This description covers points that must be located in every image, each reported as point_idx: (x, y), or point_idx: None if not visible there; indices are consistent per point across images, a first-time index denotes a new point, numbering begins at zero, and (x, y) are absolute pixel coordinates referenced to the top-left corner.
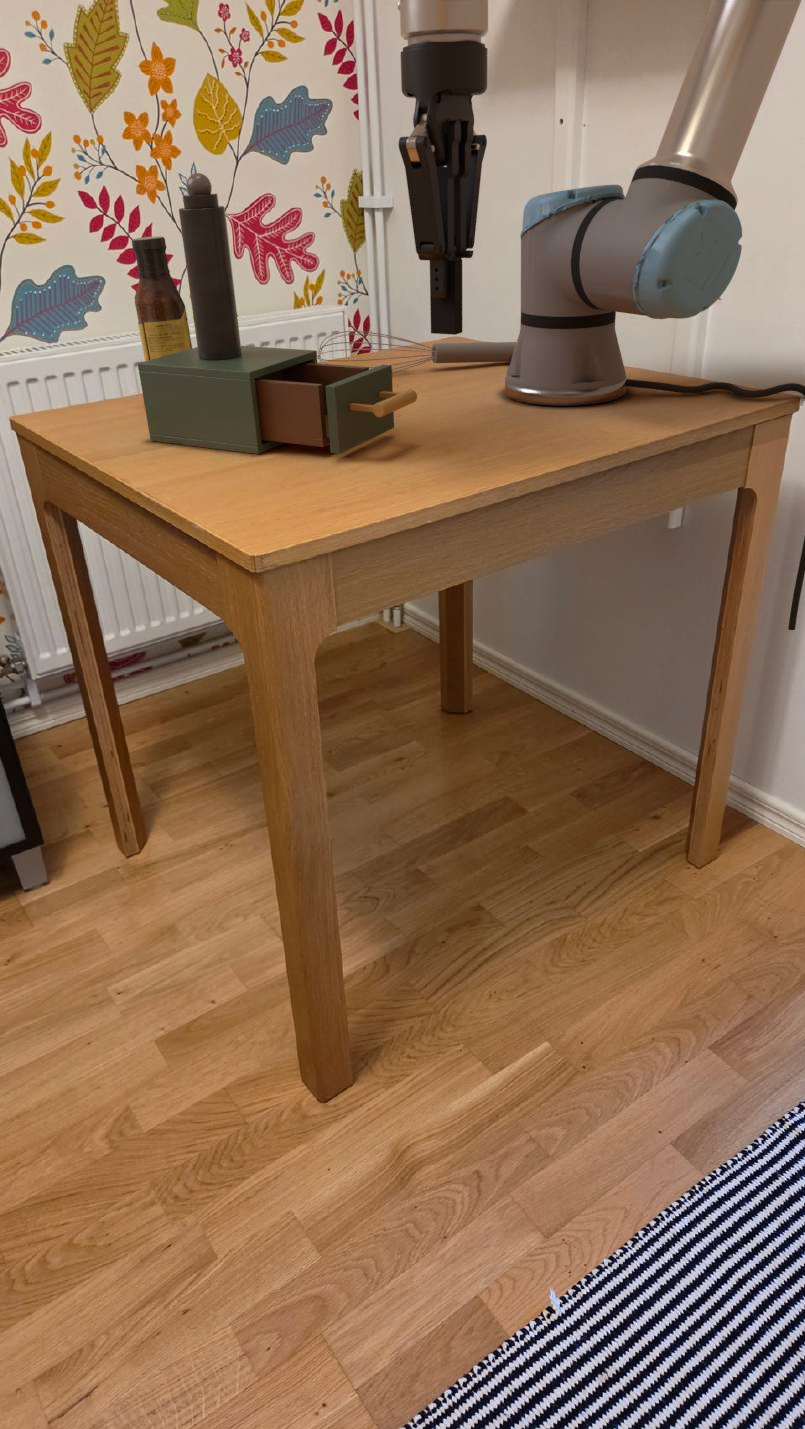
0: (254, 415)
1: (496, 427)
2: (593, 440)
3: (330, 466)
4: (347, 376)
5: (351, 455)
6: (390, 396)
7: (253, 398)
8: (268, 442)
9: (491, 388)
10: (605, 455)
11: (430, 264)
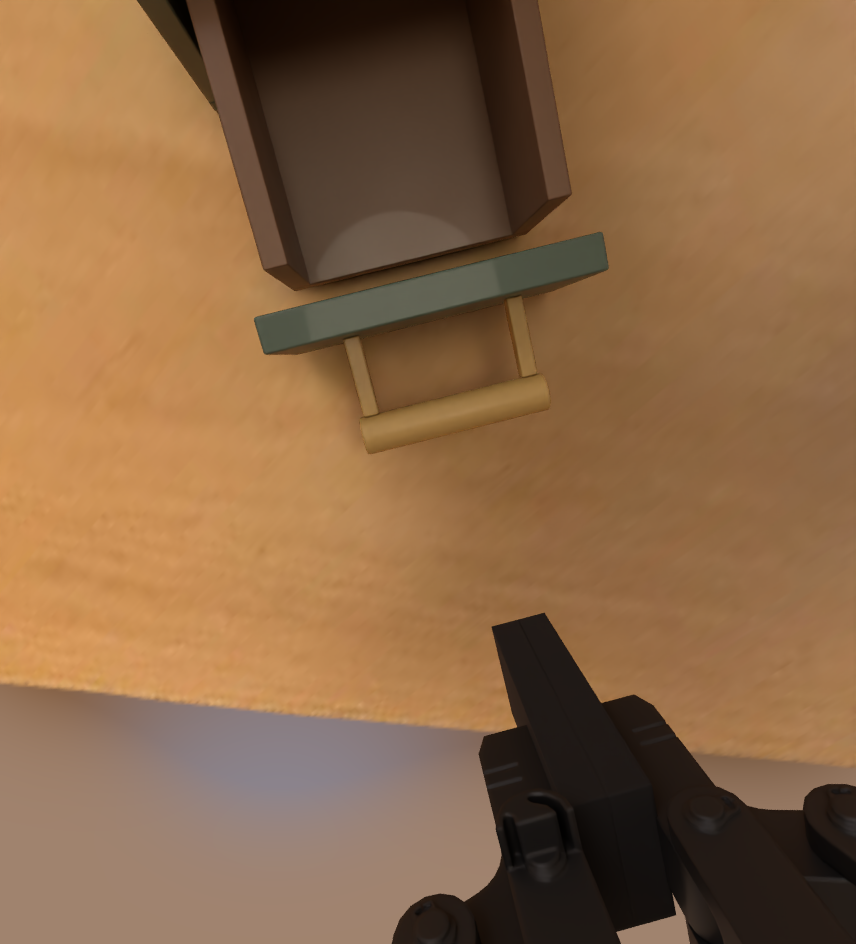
0: (181, 61)
1: (736, 444)
2: (740, 673)
3: None
4: (525, 131)
5: None
6: (512, 338)
7: (166, 34)
8: None
9: None
10: None
11: (501, 852)
